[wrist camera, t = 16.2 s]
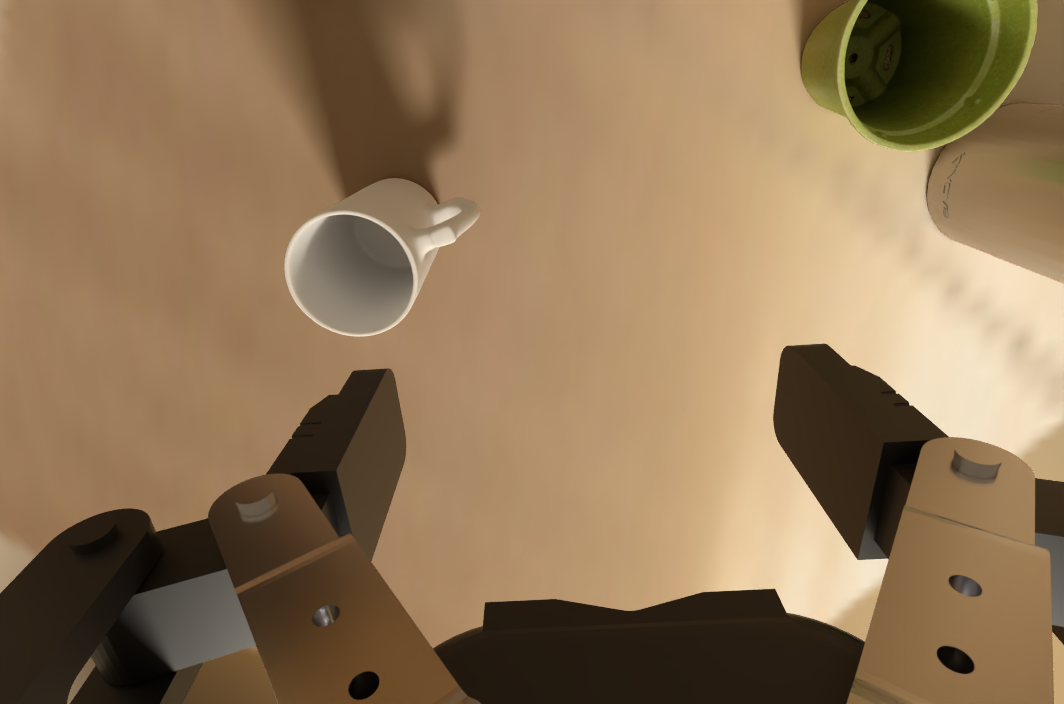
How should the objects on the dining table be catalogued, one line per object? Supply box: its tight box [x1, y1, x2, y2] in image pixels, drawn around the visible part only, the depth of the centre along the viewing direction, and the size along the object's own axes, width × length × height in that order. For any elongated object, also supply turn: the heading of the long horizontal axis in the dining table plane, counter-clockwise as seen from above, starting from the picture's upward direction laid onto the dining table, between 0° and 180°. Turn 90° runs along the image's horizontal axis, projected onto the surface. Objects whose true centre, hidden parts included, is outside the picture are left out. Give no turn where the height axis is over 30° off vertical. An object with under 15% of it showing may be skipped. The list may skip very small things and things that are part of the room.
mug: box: [284, 178, 480, 336], centre depth 35 cm, size 10×7×12 cm, turn 110°
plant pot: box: [801, 0, 1038, 151], centre depth 33 cm, size 9×9×9 cm
